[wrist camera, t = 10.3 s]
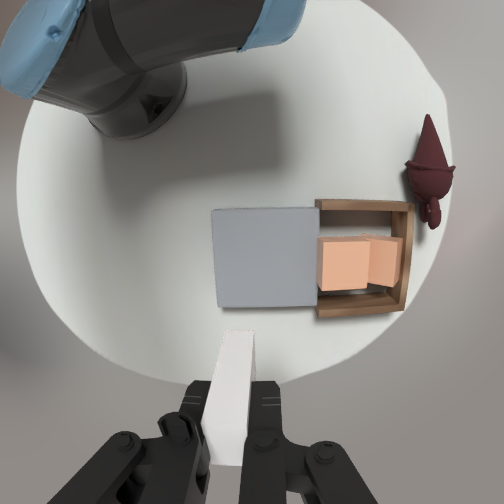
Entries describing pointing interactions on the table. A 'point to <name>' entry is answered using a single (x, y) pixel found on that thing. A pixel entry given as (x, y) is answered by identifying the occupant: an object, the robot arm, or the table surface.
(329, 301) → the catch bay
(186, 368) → the table surface
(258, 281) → the board
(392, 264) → the tile
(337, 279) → the tile
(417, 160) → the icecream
